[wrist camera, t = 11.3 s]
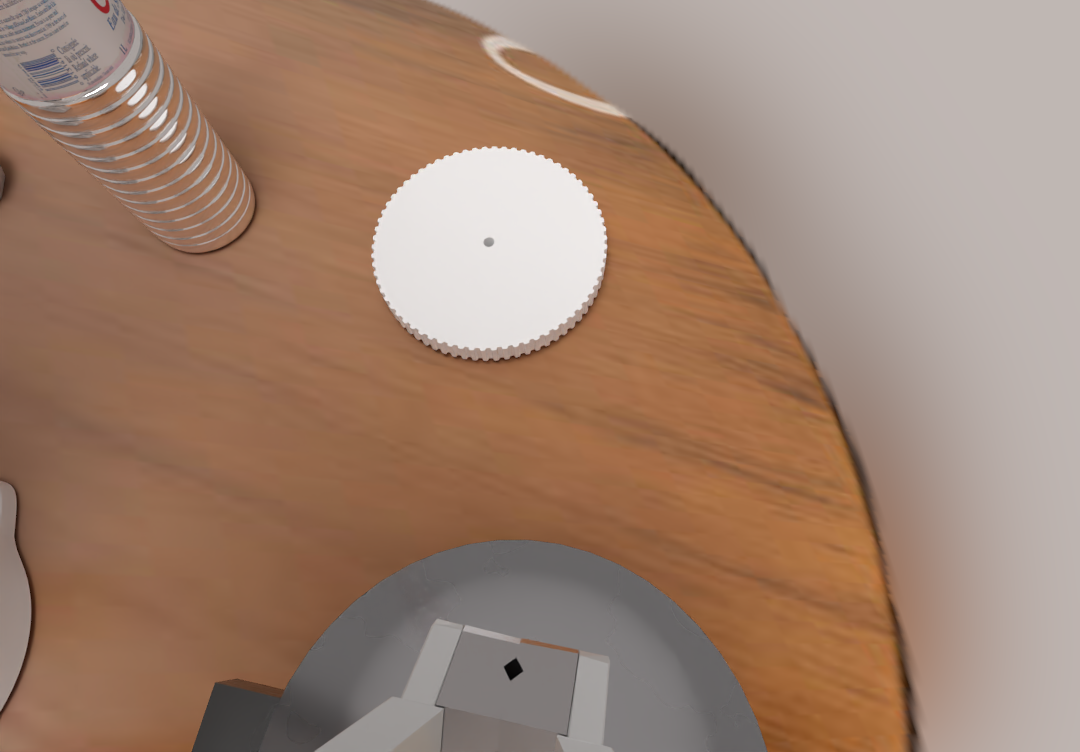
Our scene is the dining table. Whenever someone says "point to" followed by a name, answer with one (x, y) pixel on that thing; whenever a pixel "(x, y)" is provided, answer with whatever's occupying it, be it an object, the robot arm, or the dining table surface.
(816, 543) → the dining table surface
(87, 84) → the water bottle
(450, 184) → the plastic lid
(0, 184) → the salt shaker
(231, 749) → the cooker pot
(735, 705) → the cooker lid
